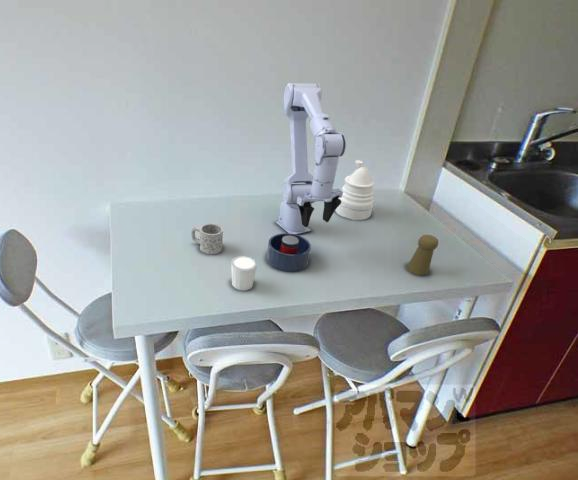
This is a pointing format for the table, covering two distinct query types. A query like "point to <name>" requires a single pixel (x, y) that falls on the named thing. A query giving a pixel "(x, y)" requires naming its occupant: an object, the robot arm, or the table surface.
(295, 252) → the can
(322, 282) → the table surface
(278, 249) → the dark blue round bowl
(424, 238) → the cork
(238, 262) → the white tapered cylinder
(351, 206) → the honey pot
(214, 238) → the mug
